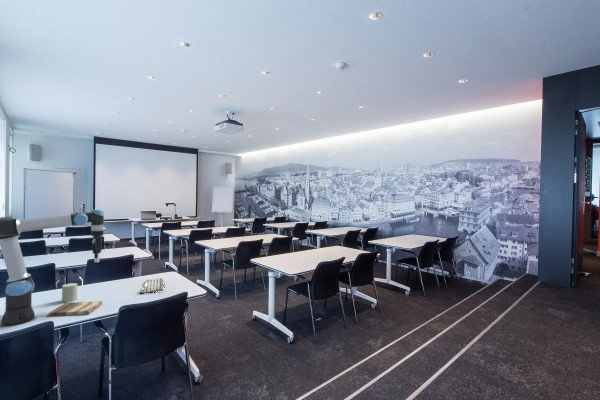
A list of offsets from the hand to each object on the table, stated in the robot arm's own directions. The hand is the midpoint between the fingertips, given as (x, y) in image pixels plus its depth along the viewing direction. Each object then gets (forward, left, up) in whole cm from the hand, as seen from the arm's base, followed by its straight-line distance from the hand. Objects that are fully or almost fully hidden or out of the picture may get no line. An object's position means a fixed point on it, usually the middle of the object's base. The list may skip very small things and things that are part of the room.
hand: (96, 262), depth 216 cm
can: (-20, +5, -30) cm, 36 cm away
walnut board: (-12, -16, -29) cm, 35 cm away
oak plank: (0, -16, -29) cm, 33 cm away
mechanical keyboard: (+30, +32, -30) cm, 53 cm away
